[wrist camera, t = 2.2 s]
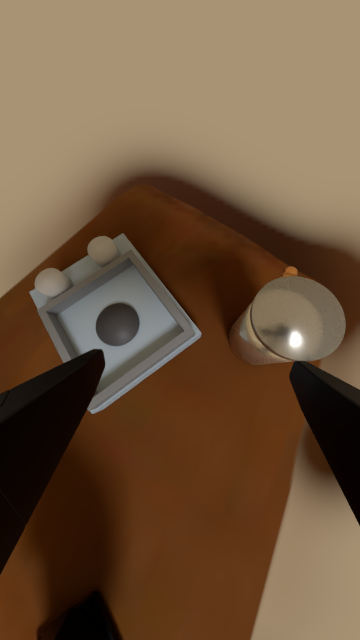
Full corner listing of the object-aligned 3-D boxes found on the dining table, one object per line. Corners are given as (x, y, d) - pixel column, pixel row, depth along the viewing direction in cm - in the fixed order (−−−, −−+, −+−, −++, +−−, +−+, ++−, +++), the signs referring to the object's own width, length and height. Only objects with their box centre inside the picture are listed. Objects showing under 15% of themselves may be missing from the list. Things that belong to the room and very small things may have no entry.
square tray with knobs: (200, 337, 23) (202, 329, 18) (103, 409, 21) (80, 419, 17) (129, 245, 27) (117, 221, 23) (44, 299, 25) (14, 284, 21)
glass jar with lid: (276, 372, 21) (342, 372, 12) (222, 357, 22) (244, 346, 13) (286, 304, 23) (349, 259, 14) (237, 293, 24) (265, 243, 15)
